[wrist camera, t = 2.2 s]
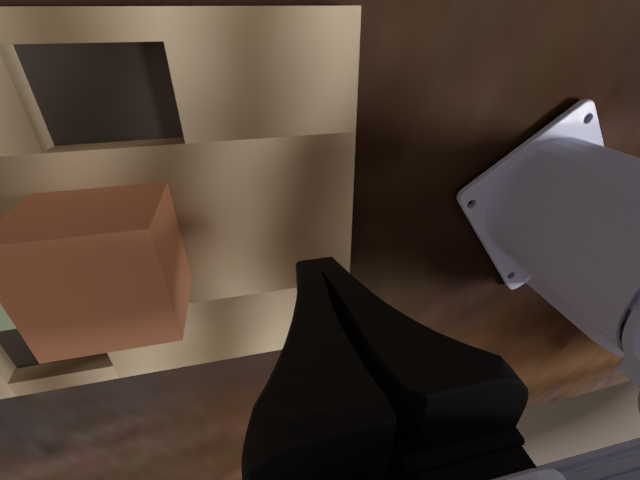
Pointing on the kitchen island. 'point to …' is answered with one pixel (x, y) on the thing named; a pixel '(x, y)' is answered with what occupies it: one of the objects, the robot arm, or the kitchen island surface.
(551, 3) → the kitchen island surface
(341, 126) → the box
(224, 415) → the kitchen island surface
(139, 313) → the rust block
